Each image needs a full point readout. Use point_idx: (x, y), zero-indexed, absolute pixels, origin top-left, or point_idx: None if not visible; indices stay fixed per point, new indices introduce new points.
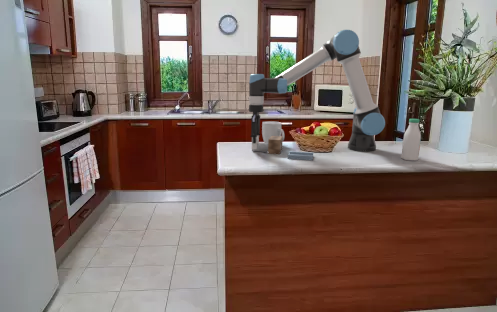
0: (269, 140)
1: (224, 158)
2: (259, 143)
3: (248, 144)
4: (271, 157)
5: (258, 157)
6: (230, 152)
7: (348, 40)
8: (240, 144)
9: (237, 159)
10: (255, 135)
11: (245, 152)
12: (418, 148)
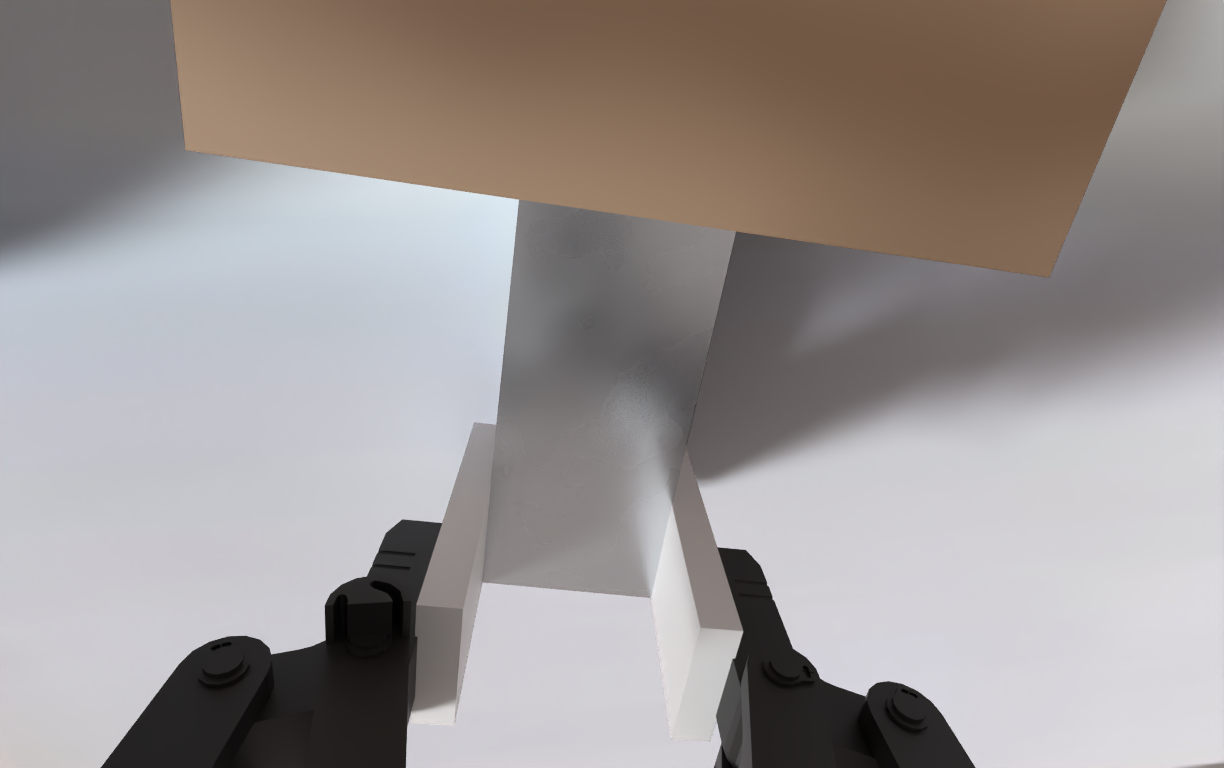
0: (1043, 232)
1: (1100, 759)
2: (618, 457)
3: (12, 598)
4: (1189, 125)
5: (1134, 369)
6: None
7: None
8: (84, 707)
9: (1193, 630)
10: (941, 725)
11: None
12: None
